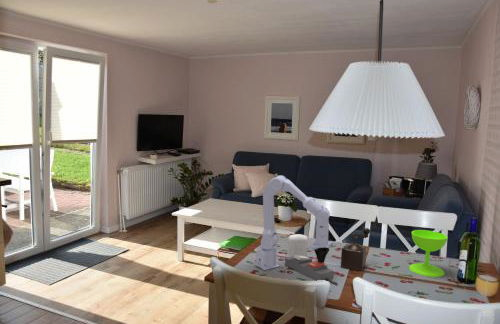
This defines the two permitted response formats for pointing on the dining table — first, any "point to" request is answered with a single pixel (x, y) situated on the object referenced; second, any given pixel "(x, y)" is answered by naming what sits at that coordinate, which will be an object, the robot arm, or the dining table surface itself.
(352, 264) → the manual coffee grinder
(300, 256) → the grey rocker
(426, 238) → the wineglass
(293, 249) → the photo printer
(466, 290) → the dining table surface
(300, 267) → the power strip
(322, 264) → the red rocker
